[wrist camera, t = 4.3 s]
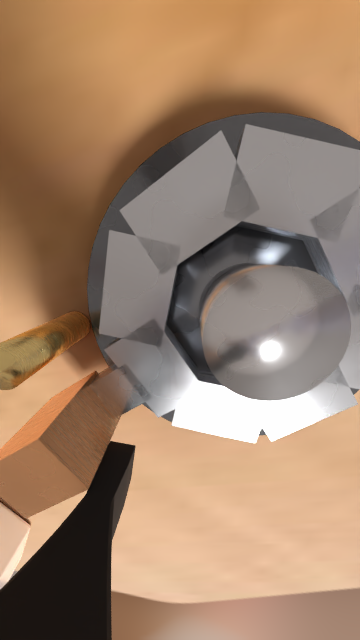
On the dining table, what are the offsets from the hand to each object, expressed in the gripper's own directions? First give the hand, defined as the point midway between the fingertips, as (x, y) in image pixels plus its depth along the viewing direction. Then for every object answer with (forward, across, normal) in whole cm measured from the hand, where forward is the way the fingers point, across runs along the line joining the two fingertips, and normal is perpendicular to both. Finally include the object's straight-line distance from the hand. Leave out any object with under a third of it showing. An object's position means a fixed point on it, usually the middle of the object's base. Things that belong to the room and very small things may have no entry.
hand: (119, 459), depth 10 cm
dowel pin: (+4, +4, -5) cm, 7 cm away
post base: (+4, -4, -8) cm, 10 cm away
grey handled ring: (+2, -3, -6) cm, 7 cm away
